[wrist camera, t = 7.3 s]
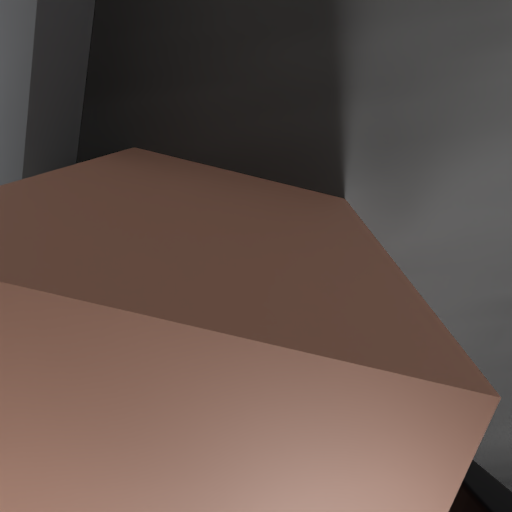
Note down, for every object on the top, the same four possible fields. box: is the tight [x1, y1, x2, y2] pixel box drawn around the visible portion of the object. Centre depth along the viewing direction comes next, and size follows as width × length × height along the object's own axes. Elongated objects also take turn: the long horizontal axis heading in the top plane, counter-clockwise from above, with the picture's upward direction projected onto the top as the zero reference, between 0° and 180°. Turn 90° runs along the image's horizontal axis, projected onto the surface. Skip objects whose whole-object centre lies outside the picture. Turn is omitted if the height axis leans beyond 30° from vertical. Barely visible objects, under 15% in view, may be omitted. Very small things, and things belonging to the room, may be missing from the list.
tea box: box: [0, 147, 501, 512], centre depth 8 cm, size 5×7×8 cm
